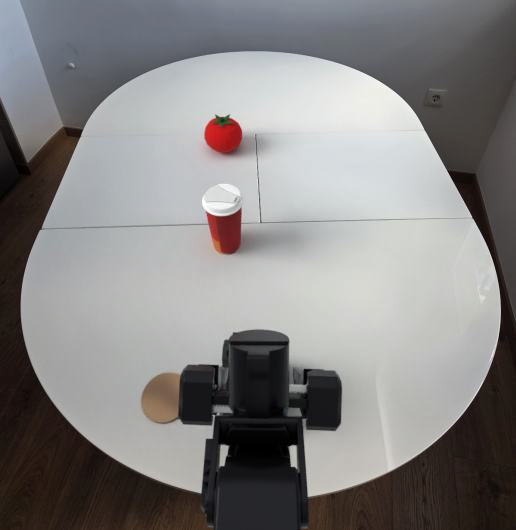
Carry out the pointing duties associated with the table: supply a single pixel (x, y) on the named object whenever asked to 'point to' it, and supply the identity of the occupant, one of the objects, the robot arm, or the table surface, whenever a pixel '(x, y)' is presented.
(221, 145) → the tomato
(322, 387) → the robot arm
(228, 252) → the coffee cup
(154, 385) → the coaster
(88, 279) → the table surface
